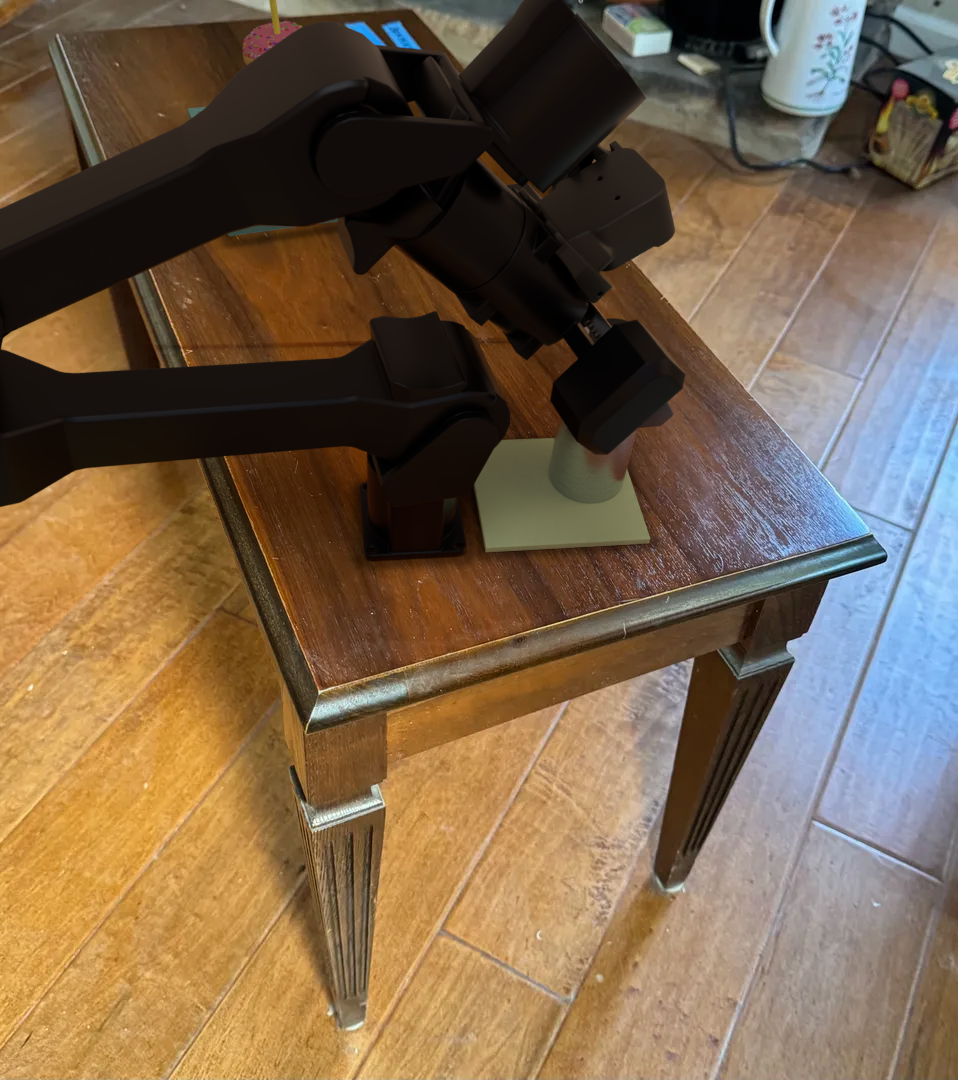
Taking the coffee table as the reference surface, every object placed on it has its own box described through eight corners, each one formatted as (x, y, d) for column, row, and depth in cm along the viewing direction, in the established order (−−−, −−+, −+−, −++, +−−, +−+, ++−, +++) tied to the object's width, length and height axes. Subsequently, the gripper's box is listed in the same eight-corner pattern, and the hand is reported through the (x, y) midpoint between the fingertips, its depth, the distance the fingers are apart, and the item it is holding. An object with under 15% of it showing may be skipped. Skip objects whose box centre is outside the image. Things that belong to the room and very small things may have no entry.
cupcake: (312, 120, 98) (304, -6, 89) (233, 107, 99) (218, -20, 90) (336, 86, 103) (332, -36, 94) (262, 73, 104) (250, -49, 95)
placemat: (649, 543, 62) (650, 538, 62) (485, 552, 61) (485, 547, 61) (615, 440, 69) (616, 435, 69) (465, 446, 67) (466, 440, 67)
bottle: (556, 505, 63) (584, 363, 54) (542, 452, 67) (566, 309, 58) (630, 501, 64) (670, 361, 55) (613, 449, 68) (648, 308, 59)
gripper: (696, 217, 40) (822, 374, 51) (520, 38, 51) (657, 200, 62) (507, 398, 43) (664, 506, 55) (382, 194, 54) (535, 320, 66)
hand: (630, 371), depth 59 cm, fingers open, 9 cm apart
